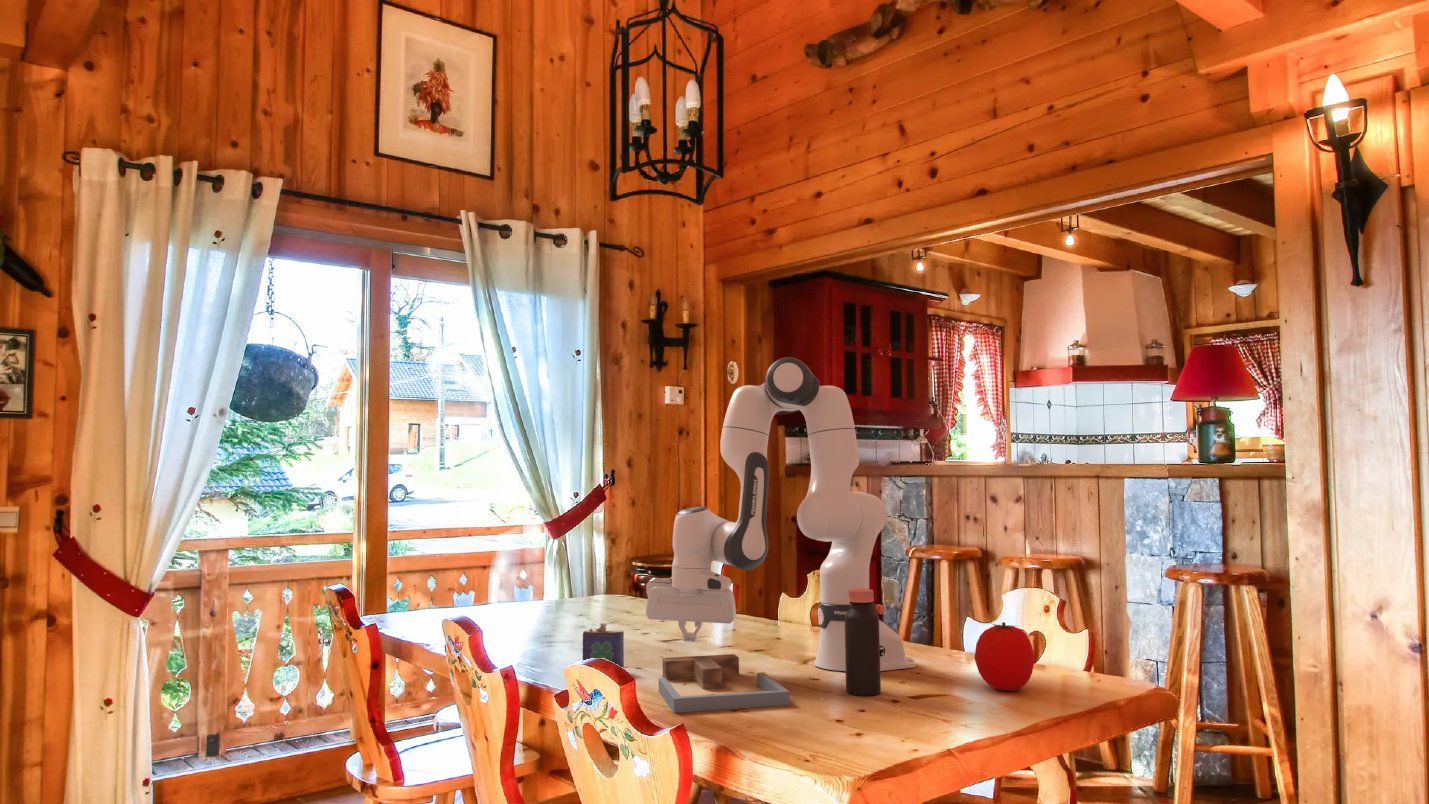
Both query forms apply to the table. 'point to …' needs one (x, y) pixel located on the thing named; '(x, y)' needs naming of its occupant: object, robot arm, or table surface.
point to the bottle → (862, 645)
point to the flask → (604, 644)
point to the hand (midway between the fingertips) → (690, 641)
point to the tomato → (1004, 657)
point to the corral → (727, 697)
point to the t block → (702, 669)
